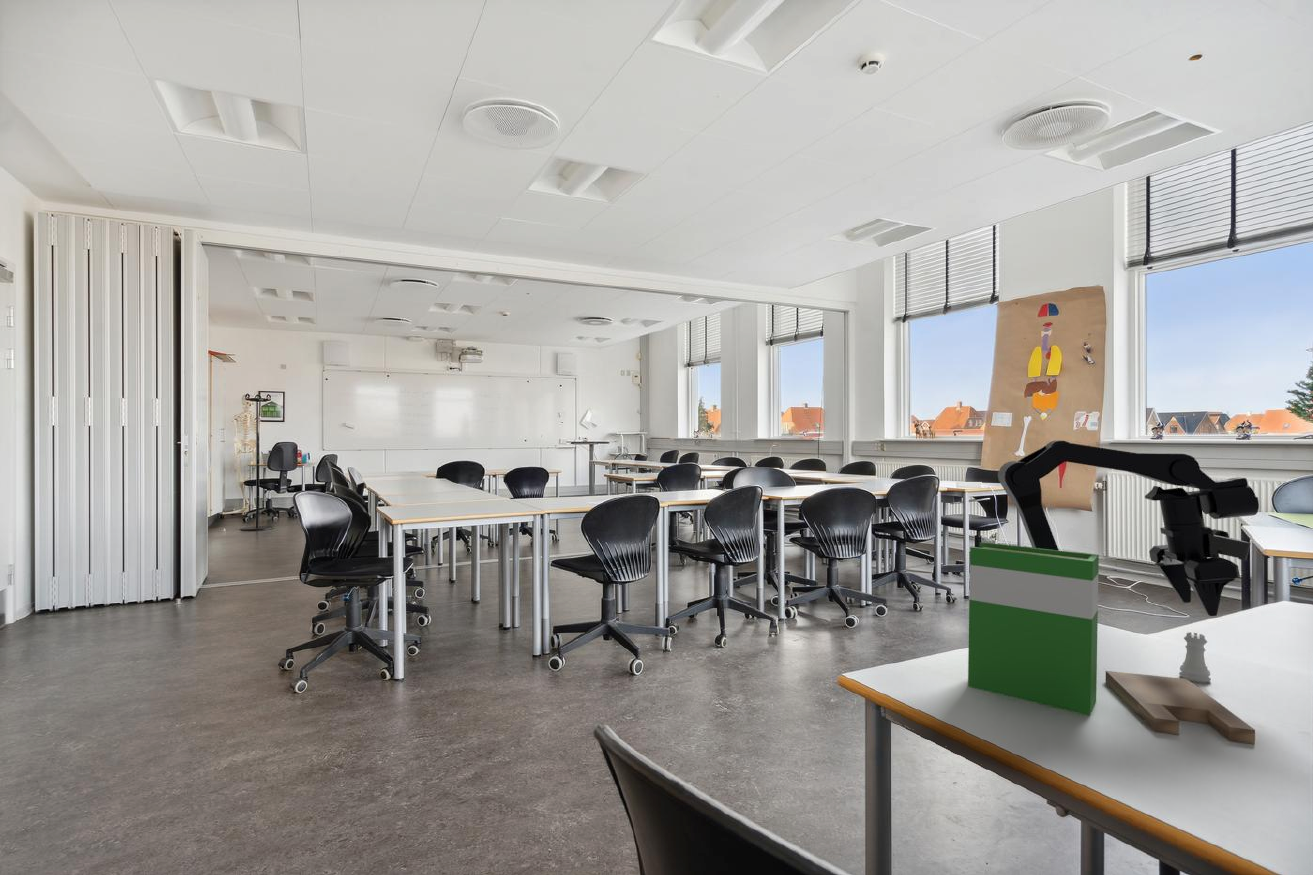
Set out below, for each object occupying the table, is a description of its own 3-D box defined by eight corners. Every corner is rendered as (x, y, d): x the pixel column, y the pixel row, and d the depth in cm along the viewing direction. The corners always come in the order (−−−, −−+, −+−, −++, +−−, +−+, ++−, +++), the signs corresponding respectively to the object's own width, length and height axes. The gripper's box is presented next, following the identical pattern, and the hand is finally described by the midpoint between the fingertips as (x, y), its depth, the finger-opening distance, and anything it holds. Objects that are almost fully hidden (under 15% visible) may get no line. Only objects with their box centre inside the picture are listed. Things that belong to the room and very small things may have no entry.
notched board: (1154, 731, 96) (1154, 718, 96) (1105, 682, 115) (1105, 670, 115) (1254, 743, 92) (1255, 729, 92) (1186, 690, 111) (1187, 678, 111)
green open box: (967, 686, 112) (970, 547, 112) (979, 674, 118) (981, 542, 118) (1090, 716, 101) (1092, 561, 101) (1096, 701, 107) (1098, 554, 106)
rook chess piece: (1199, 674, 119) (1199, 631, 119) (1217, 684, 115) (1218, 638, 114) (1172, 673, 119) (1173, 630, 119) (1190, 683, 115) (1191, 637, 115)
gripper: (1269, 524, 106) (1287, 620, 105) (1210, 510, 124) (1225, 592, 123) (1188, 531, 109) (1205, 624, 109) (1142, 517, 127) (1156, 597, 126)
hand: (1199, 608), depth 117 cm, fingers open, 9 cm apart
